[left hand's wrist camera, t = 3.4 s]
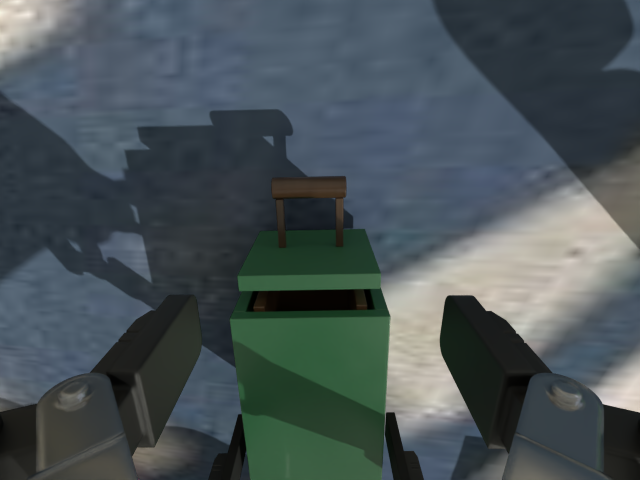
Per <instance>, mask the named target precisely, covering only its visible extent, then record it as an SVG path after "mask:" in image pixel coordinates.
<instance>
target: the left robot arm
mask: <svg viewBox="0 0 640 480" xmlns="http://www.w3.org/2000/svg"><path fill="white" fill-rule="evenodd" d="M201 346H202V334H201V327H200V320H199V313H198V305H197V300H196V297H195V296H194V295H169V296H167V298H166V299H165V300H164V301H163V302H162V304H161V305H160V306H159V307H158V309H157V310H151V311H149V312H148V313H146V314H144V315H143V316H141V317H140V318H138V319H137V320H135V322H134V323H133V324H132V325H131V326H130V327H129V328H128V330H127V332H126V333H124V334H123V335H122V336H121V338H120V339H119V341H118V342H116V343H115V344H114V346H113V347H112V348H111V349H110V350H109V351H108V352H107V354H106V355H105V356H104V357H103V358H102V359H101V360H100V362H99V363H98V364H97V365H96V366H95V367H94V369H93V370H92V371H91V372H90V373H86V374H81V375H77V376H74V377H71V378H69V379H66V380H64V381H62V382H60V383H59V384H57V385H55V386H54V387H52V388H51V389H50V390H49V391H47V392H46V393H45V394H44V395H43V396H42V397H41V399H40V400H39V402H38V404H34V405H30V406H25V407H21V408H16V409H12V410H7V411H3V412H0V480H138V478H137V474H136V470H135V467H134V463H133V460H132V456H133V454H134V452H135V450H136V448H137V447H155V445H156V443H157V441H158V439H159V437H160V435H161V433H162V431H163V429H164V427H165V425H166V423H167V421H168V419H169V417H170V415H171V412H172V410H173V408H174V406H175V404H176V402H177V400H178V398H179V396H180V394H181V392H182V390H183V388H184V386H185V384H186V382H187V380H188V378H189V376H190V374H191V372H192V370H193V368H194V366H195V364H196V361H197V359H198V357H199V355H200V352H201ZM440 348H441V353H442V356H443V358H444V360H445V362H446V364H447V366H448V369H449V371H450V373H451V375H452V377H453V379H454V381H455V383H456V385H457V387H458V389H459V391H460V393H461V395H462V397H463V399H464V401H465V403H466V405H467V407H468V409H469V411H470V413H471V415H472V417H473V419H474V421H475V423H476V425H477V427H478V429H479V431H480V433H481V435H482V437H483V439H484V441H485V443H486V445H487V447H488V449H506V450H507V452H508V453H509V456H508V460H507V463H506V467H505V470H504V474H503V478H502V480H640V413H639V412H635V411H630V410H626V409H621V408H617V407H612V406H608V405H604V404H602V402H601V400H600V399H599V397H598V396H597V395H596V394H595V393H594V392H593V391H591V390H590V389H589V388H588V387H586V386H585V385H583V384H581V383H580V382H578V381H576V380H574V379H571V378H569V377H566V376H563V375H559V374H554V373H552V372H551V371H550V370H549V368H548V367H547V366H546V365H545V364H544V363H543V362H542V361H541V359H540V358H539V357H538V356H537V355H536V354H535V353H534V351H533V350H532V349H531V348H530V347H529V346H528V345H527V344H526V343H524V340H523V339H522V338H521V337H520V336H519V334H516V331H515V330H514V329H513V328H512V327H511V325H510V324H509V323H508V322H507V321H506V320H505V319H503V318H501V317H500V316H498V315H497V314H495V313H493V312H492V311H486V310H485V309H484V308H483V307H482V305H481V304H480V303H479V302H478V300H477V299H476V298H475V297H474V296H472V295H449V296H447V298H446V300H445V305H444V312H443V319H442V326H441V333H440Z"/></svg>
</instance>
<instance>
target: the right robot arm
mask: <svg viewBox="0 0 640 480" xmlns="http://www.w3.org/2000/svg"><path fill="white" fill-rule="evenodd" d="M385 437H386V442H387V448H388V453H389V458H390V463H391V468H392V473H393V479H394V480H424V479H423V475H422V471H421V468H420V464H419V460H418V457H417V455H416V454H415V452H414V451H404V450H403V446H402V442H401V438H400V433H399V429H398V425H397V421H396V417H395V413H394V412H388V413H386V425H385ZM245 453H246V443H245V435H244V427H243V419H242V414H238V418H237V421H236V425H235V429H234V432H233V436H232V440H231V443H230V447H229V451H228V453H224V454H218V455H217V457H216V458H215V460H214V463H213V467H212V470H211V473H210V476H209V479H208V480H240V475H241V471H242V466H243V462H244V457H245Z"/></svg>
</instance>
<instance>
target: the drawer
mask: <svg viewBox="0 0 640 480" xmlns="http://www.w3.org/2000/svg"><path fill="white" fill-rule="evenodd" d="M271 191H272V197H273V199H276V213H277V228H278V231H260V233H259V235H258V237H257V239H256V240H255V242H254V244H253V246H252V248H251V250H250V252H249V254H248V256H247V258H246V260H245V262H244V264H243V266H242V268H241V270H240V272H239V274H238V276H237V279H238V287H239V291H259V293H258V296H257V299H256V302H255V304H254V307H253V308H254V312H272V311H332V310H367V302H366V298H365V294H364V289H380V285H381V272H380V270H379V267H378V264H377V261H376V259H375V256H374V253H373V251H372V248H371V245H370V242H369V240H368V237H367V234H366V231H365V229H343V198H345V197H346V177H345V176H321V177H274V178H272V181H271ZM298 198H335V207H336V230H291V231H286V226H285V209H284V199H298Z"/></svg>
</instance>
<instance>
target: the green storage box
mask: <svg viewBox="0 0 640 480" xmlns="http://www.w3.org/2000/svg"><path fill="white" fill-rule="evenodd" d="M258 293H259V291H242V293H241V295H240V297H239V300H238V302H237V304H236V306H235V309H234V311H233V313H232V315H231V317H230V326H231V334H232V342H233V349H234V357H235V365H236V373H237V381H238V388H239V396H240V404H241V412H242V419H243V427H244V435H245V443H246V451H247V458H248V466H249V474H250V480H382V462H383V443H384V425H385V407H386V388H387V370H388V352H389V333H390V314H389V311H388V308H387V305H386V302H385V299H384V296H383V293H382V290H381V287H380V289H364V294H365V298H366V302H367V310H332V311H272V312H254V308H253V307H254V304H255V302H256V299H257V296H258Z"/></svg>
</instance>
